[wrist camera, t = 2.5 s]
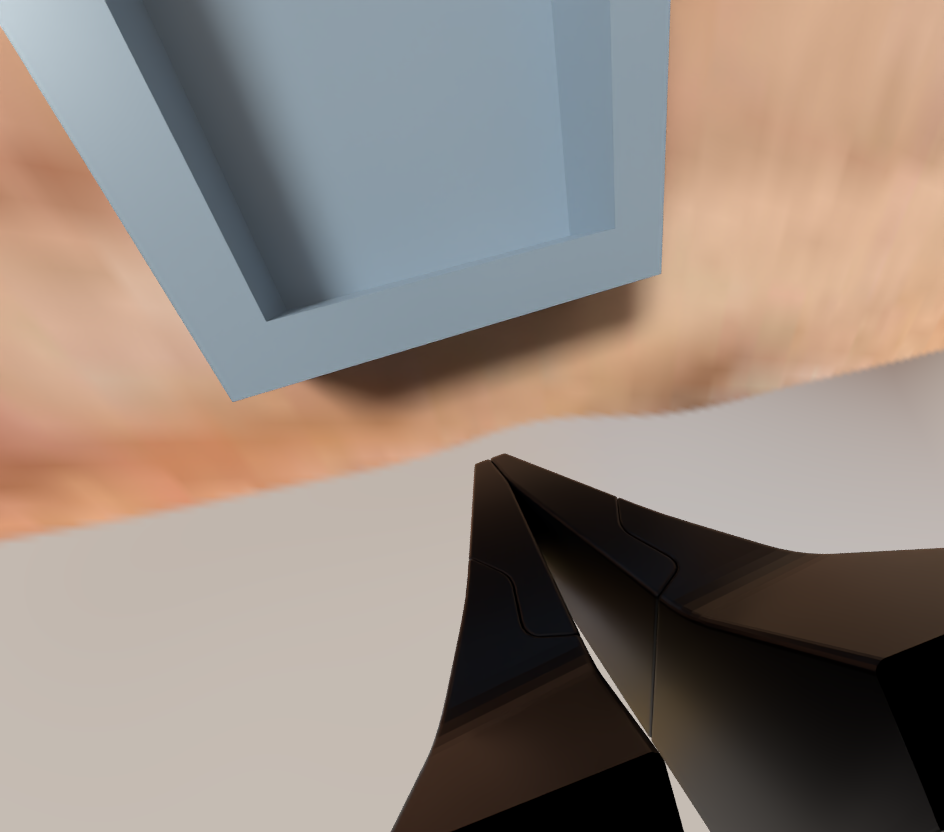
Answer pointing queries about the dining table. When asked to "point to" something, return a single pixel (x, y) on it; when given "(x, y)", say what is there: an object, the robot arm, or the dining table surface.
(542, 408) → the dining table surface
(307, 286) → the grey shell
